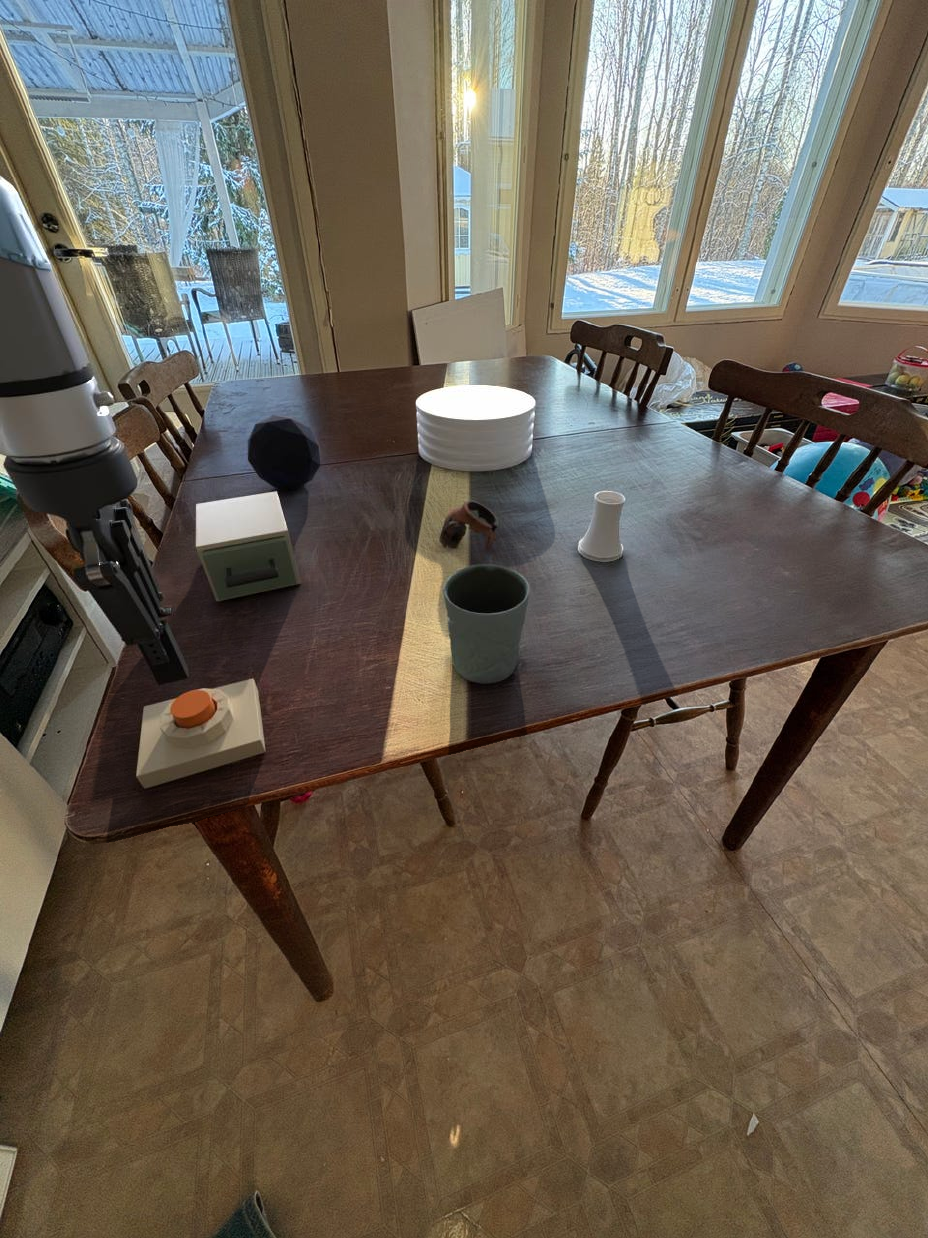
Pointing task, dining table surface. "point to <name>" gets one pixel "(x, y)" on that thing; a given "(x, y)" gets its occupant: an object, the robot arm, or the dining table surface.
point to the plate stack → (475, 427)
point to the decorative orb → (283, 452)
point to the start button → (193, 709)
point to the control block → (200, 736)
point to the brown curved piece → (462, 516)
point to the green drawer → (250, 567)
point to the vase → (604, 529)
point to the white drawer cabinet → (240, 525)
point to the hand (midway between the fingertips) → (173, 677)
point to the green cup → (485, 620)
